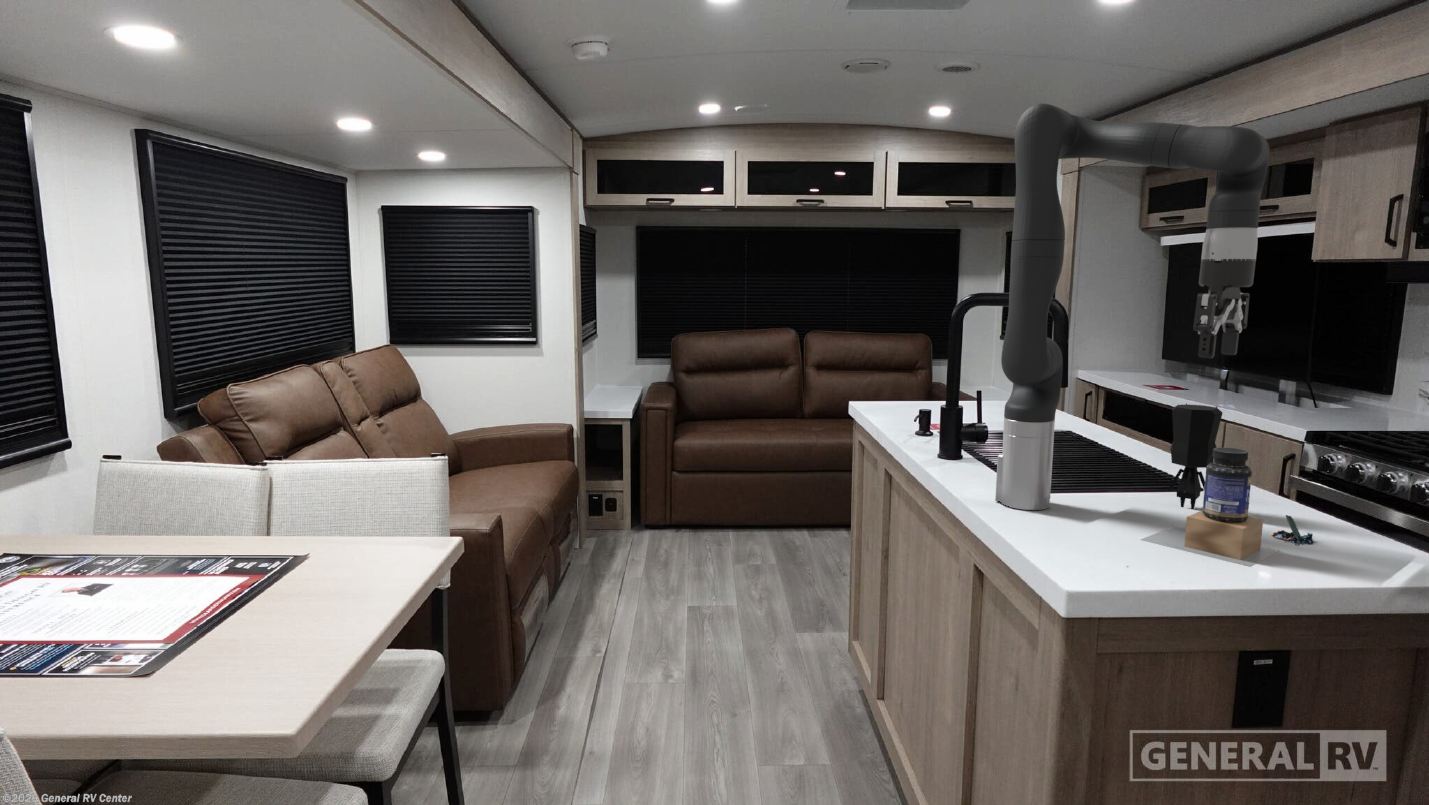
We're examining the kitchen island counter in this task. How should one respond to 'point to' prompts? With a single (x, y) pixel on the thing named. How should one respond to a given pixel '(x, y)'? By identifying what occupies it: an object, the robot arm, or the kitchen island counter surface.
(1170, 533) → the build plate
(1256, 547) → the wooden block
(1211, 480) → the pill bottle
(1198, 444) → the toy
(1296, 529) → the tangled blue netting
